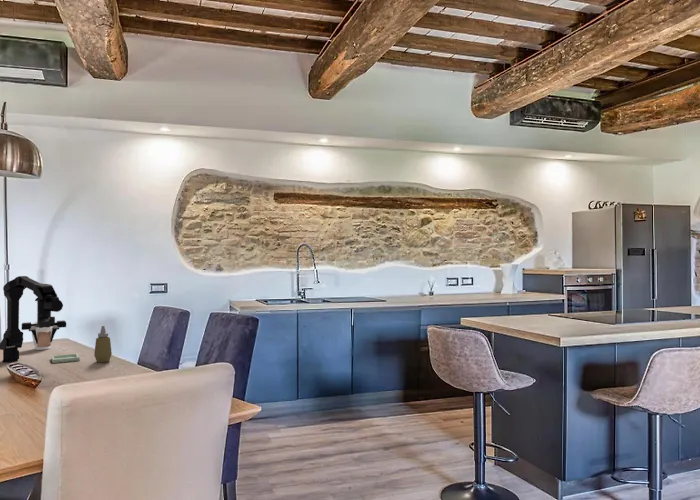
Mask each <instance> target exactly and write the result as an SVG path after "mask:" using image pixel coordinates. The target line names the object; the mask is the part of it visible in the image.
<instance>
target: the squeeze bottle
mask: <svg viewBox="0 0 700 500" xmlns="http://www.w3.org/2000/svg"><path fill="white" fill-rule="evenodd" d="M111 344H112V343H111V337H110V336H109V332H106V328H105V325H101V328H100V332H99V333H97V337H96V338H95V344H94V345H95V346H94V358H95V361H96V363H101V364H102V362H103V363H108V362H110V360H111V357H112V353H113V352H112V346H111Z"/></svg>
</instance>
